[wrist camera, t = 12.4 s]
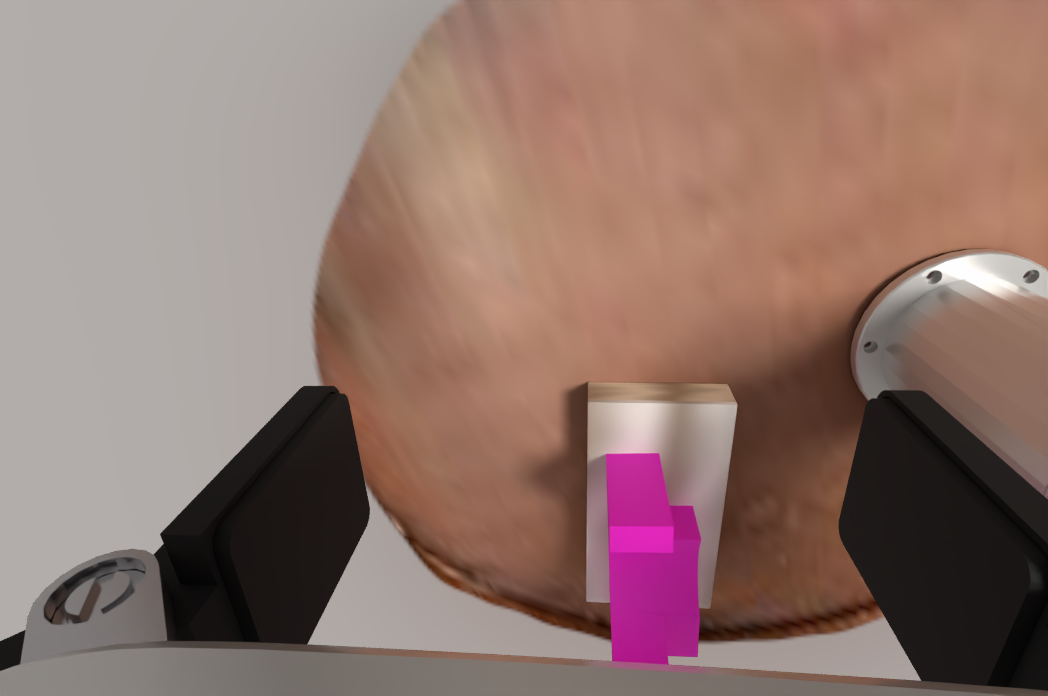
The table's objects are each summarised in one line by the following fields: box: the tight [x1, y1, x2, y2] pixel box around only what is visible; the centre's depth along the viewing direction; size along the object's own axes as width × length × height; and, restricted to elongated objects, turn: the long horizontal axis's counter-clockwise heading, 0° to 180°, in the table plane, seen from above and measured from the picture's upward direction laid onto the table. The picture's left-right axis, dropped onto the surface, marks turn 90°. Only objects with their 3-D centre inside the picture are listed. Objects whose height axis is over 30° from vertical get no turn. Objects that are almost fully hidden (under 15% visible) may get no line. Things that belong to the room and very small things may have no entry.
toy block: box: [606, 453, 701, 665], centre depth 40 cm, size 15×6×8 cm, turn 5°
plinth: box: [586, 382, 737, 609], centre depth 43 cm, size 10×19×3 cm, turn 2°
